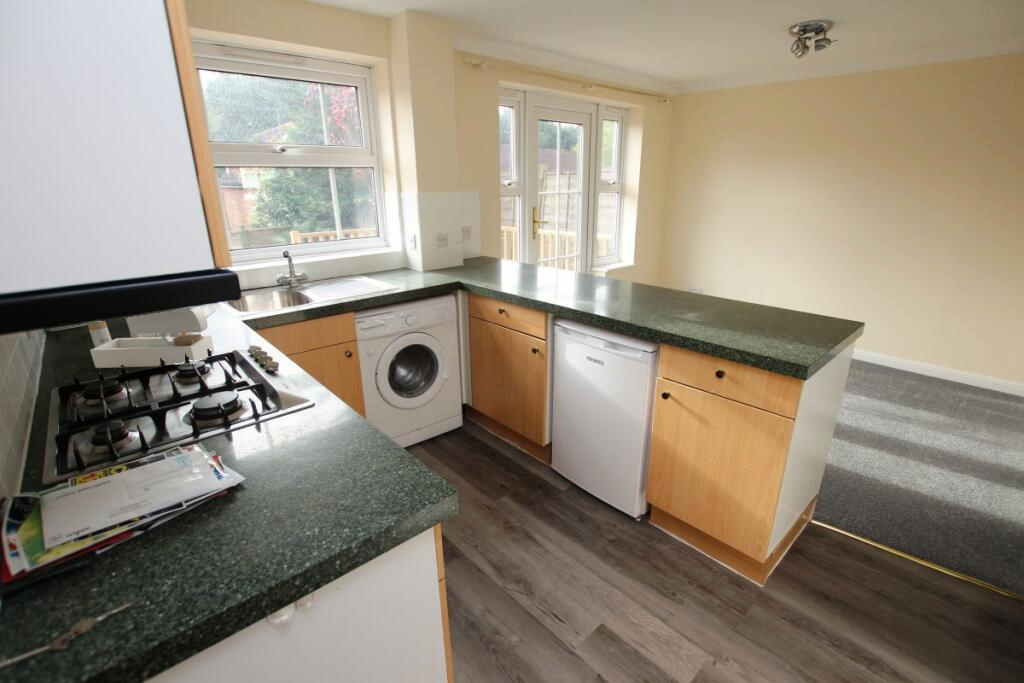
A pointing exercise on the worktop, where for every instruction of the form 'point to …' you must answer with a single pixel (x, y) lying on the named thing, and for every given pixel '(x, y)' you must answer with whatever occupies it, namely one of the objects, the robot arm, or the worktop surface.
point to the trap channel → (147, 352)
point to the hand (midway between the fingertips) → (174, 346)
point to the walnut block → (187, 339)
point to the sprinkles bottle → (99, 333)
